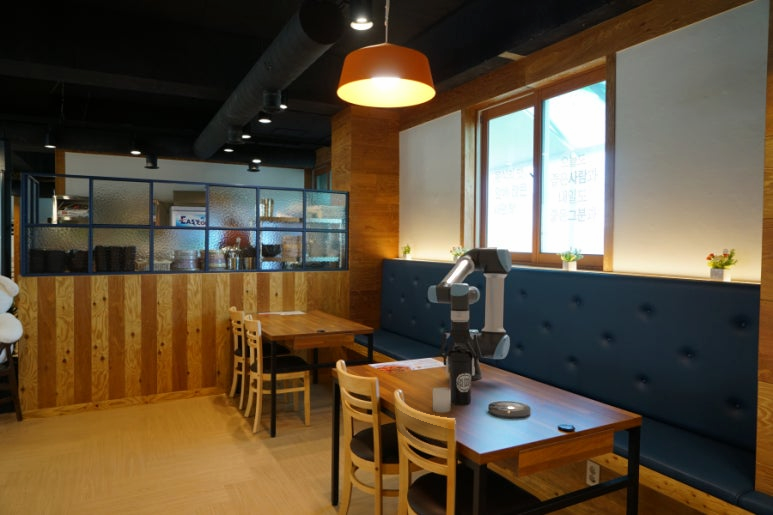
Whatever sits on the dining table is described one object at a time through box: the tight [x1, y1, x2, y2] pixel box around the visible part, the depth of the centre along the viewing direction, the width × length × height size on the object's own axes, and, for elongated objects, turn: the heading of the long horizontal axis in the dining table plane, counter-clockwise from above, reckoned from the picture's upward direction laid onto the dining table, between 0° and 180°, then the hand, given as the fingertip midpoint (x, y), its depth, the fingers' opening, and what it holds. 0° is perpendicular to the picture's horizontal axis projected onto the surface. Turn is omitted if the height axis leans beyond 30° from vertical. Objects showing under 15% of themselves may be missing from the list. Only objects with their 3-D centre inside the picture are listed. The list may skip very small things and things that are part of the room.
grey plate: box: [487, 400, 532, 420], centre depth 201 cm, size 16×16×2 cm
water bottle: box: [447, 345, 473, 406], centre depth 215 cm, size 10×10×23 cm
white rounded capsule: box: [432, 386, 452, 414], centre depth 205 cm, size 7×7×8 cm
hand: (460, 373), depth 215 cm, fingers closed on water bottle, 10 cm apart
